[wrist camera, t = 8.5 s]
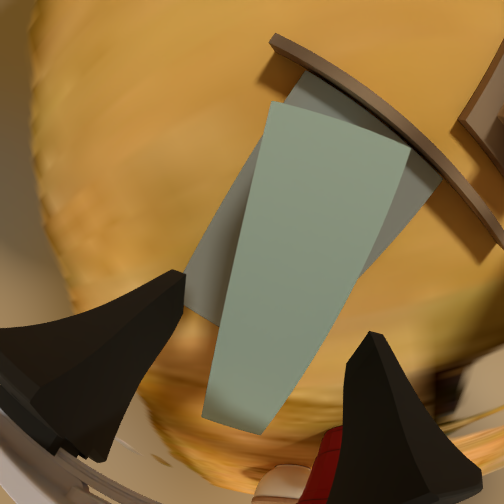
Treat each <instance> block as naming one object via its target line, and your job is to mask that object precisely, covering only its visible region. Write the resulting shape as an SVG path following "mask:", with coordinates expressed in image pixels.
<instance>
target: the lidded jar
mask: <svg viewBox="0 0 504 504" xmlns="http://www.w3.org/2000/svg"><path fill="white" fill-rule="evenodd" d="M310 473H311V469H310V468H308V467H305V466H300V465H291V464H283V465H277V466H275V468H274V469H272V470H270V471H269V472H267V473H266V474H265V475H264V476H263V477H262V478H261V480H260V481H259V483H258V485H257V488H256V490H255V493H254V497H253V499H252V504H296V503H298V500H299V498H300V496H301V495H302V493H303V491H304V488H305V486H306V483H307V481H308V478H309V475H310Z"/></svg>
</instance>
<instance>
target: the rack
mask: <svg viewBox="0 0 504 504" xmlns="http://www.w3.org/2000/svg"><path fill="white" fill-rule="evenodd" d="M269 44H270V45H271V47H272V48H273V49H274V51H275V52H277V53H279V54H281V55H283V56H285V57H287V58H288V59H290V60H292V61H294V62H296V63H297V64H299V65H301V66H303V67H305V68H306V69H308V70H310V71H311V72H313V73H315V74H316V75H318V76H320V77H321V78H323V79H324V80H326V81H328V82H329V83H331V84H332V85H334V86H335V87H337V88H338V89H340V90H341V91H343V92H344V93H346V94H347V95H349V96H350V97H351V98H353V99H354V100H356V101H357V102H358V103H360V104H361V105H363V106H364V107H365V108H367V109H368V110H369V111H370V112H372V113H373V114H374V115H376V116H377V117H378V118H379V119H381V120H382V121H383V122H384V123H386V124H387V125H388V126H389V127H391V128H392V129H393V130H394V131H395V132H396V133H398V134H399V135H400V136H401V137H402V138H403V139H405V140H406V141H407V142H408V143H409V144H410V145H411V146H412V147H413V148H414V149H416V150H417V151H418V152H419V153H420V154H421V155H422V156H423V157H424V158H425V159H426V160H427V161H428V162H429V163H430V164H431V165H432V166H433V167H434V168H435V169H436V170H437V171H438V172H439V173H440V174H441V175H442V176H443V177H444V178H445V179H446V180H447V182H448V183H449V184H450V185H451V186H452V187H453V188H454V189H455V190H456V191H457V193H458V194H459V195H460V196H461V197H462V198H463V200H464V201H465V202H466V203H467V204H468V206H469V207H470V208H471V209H472V210H473V212H474V213H475V214H476V215H477V217H478V218H479V219H480V221H481V222H482V223H483V225H484V226H485V227H486V229H487V230H488V231H489V233H490V234H491V235H492V237H493V238H494V240H495V241H496V243H497V244H498V245H499V246H500V247H501V248H502V249H503V250H504V230H503V228H502V227H501V225H500V224H499V222H498V221H497V219H496V218H495V216H494V215H493V214H492V212H491V211H490V209H489V208H488V207H487V205H486V204H485V203H484V201H483V200H482V199H481V197H480V196H479V195H478V194H477V192H476V191H475V190H474V189H473V187H472V186H471V185H470V184H469V182H468V181H467V180H466V179H465V178H464V176H463V175H462V174H461V173H460V172H459V171H458V170H457V168H456V167H455V166H454V165H453V164H452V163H451V162H450V161H449V160H448V159H447V158H446V156H445V155H444V154H443V153H442V152H441V151H440V150H439V149H438V148H437V147H436V146H435V145H434V144H433V143H432V142H431V141H430V140H429V139H428V138H427V137H426V136H425V135H424V134H423V133H421V132H420V131H419V130H418V129H417V128H416V127H415V126H414V125H413V124H412V123H411V122H409V121H408V120H407V119H406V118H405V117H404V116H403V115H401V114H400V113H399V112H398V111H397V110H395V109H394V108H393V107H392V106H391V105H389V104H388V103H387V102H386V101H384V100H383V99H382V98H380V97H379V96H378V95H377V94H375V93H374V92H373V91H371V90H370V89H369V88H367V87H366V86H364V85H363V84H362V83H360V82H359V81H357V80H356V79H354V78H353V77H352V76H350V75H349V74H347V73H346V72H344V71H343V70H341V69H339V68H338V67H336V66H335V65H333V64H332V63H330V62H328V61H327V60H325V59H323V58H322V57H320V56H318V55H317V54H315V53H313V52H311V51H309V50H308V49H306V48H304V47H302V46H300V45H298V44H297V43H295V42H293V41H291V40H289V39H287V38H285V37H283V36H281V35H279V34H277V33H275V34H274V35H273V37H272V38H271V39H270V41H269ZM503 104H504V39H503V42H502V44H501V46H500V48H499V49H498V51H497V53H496V55H495V57H494V59H493V61H492V63H491V65H490V66H489V68H488V70H487V72H486V74H485V75H484V77H483V79H482V81H481V82H480V84H479V86H478V87H477V89H476V91H475V92H474V94H473V96H472V97H471V99H470V101H469V102H468V104H467V105H466V107H465V108H464V110H463V112H462V113H461V115H460V116H459V118H458V121H459V122H460V123H461V124H462V125H463V126H464V127H465V128H466V129H467V131H468V132H469V133H470V134H471V135H472V136H473V138H474V139H475V140H476V141H477V142H478V144H479V145H480V146H481V147H482V149H483V150H484V151H485V153H486V154H487V155H488V156H489V158H490V159H491V160H492V162H493V163H494V165H495V166H496V167H497V169H498V170H499V172H500V173H501V174H502V176H503V177H504V125H503V123H502V122H501V121H500V119H499V118H498V117H497V115H498V113H499V111H500V109H501V108H502V106H503Z"/></svg>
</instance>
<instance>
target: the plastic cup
mask: <svg viewBox="0 0 504 504" xmlns="http://www.w3.org/2000/svg"><path fill="white" fill-rule="evenodd" d="M342 428H343V426H339V427H335V428H332V429H330V430H328V431H327V432H326V433H325V435H324V438H323V439H322V442H321V445H320V449H319V452H318V455H317V457H316V459H315V462H314V465H313V467H312V470H311V473H310V475H309V478H308V481H307V483H306V486H305V488H304V491H303V493H302V495H301V496H300V498H299V500H298V503H296V504H326V502H327V499H328V496H329V493H330V490H331V487H332V483H333V480H334V476H335V472H336V468H337V464H338V459H339V454H340V448H341V442H342Z"/></svg>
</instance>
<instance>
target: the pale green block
mask: <svg viewBox="0 0 504 504" xmlns="http://www.w3.org/2000/svg"><path fill="white" fill-rule="evenodd" d="M410 150H411V148H410V147H408V146H405V145H403V144H401V143H399V142H396V141H394V140H392V139H389V138H387V137H385V136H382V135H380V134H377V133H375V132H372V131H370V130H367V129H364V128H362V127H359V126H356V125H353V124H351V123H348V122H345V121H342V120H339V119H336V118H333V117H330V116H326V115H323V114H320V113H317V112H313V111H310V110H306V109H303V108H299V107H295V106H291V105H288V104H284V103H280V102H275V101H271V105H270V109H269V114H268V118H267V122H266V126H265V130H264V134H263V138H262V142H261V146H260V150H259V155H258V159H257V163H256V167H255V171H254V176H253V180H252V184H251V188H250V193H249V197H248V201H247V206H246V210H245V214H244V219H243V223H242V227H241V232H240V236H239V241H238V245H237V250H236V254H235V259H234V263H233V268H232V272H231V277H230V281H229V286H228V290H227V295H226V300H225V304H224V309H223V314H222V318H221V323H220V328H219V332H218V337H217V342H216V347H215V352H214V356H213V361H212V366H211V371H210V376H209V381H208V386H207V391H206V396H205V401H204V406H203V411H202V416H201V417H202V418H205V419H208V420H211V421H214V422H217V423H220V424H223V425H226V426H229V427H233V428H236V429H239V430H243V431H246V432H250V433H254V434H257V435H261V434H262V433H263V431H264V430H265V429H266V427H267V426H268V425H269V423H270V422H271V421H272V419H273V418H274V416H275V415H276V414H277V412H278V411H279V409H280V408H281V407H282V405H283V404H284V402H285V401H286V399H287V398H288V396H289V395H290V394H291V392H292V391H293V389H294V388H295V386H296V385H297V383H298V382H299V380H300V379H301V377H302V375H303V374H304V372H305V371H306V369H307V368H308V366H309V364H310V363H311V361H312V360H313V358H314V356H315V355H316V353H317V351H318V350H319V348H320V346H321V345H322V343H323V341H324V340H325V338H326V336H327V335H328V333H329V331H330V329H331V328H332V326H333V324H334V322H335V320H336V319H337V317H338V315H339V313H340V311H341V310H342V308H343V306H344V304H345V302H346V300H347V298H348V296H349V294H350V293H351V291H352V289H353V287H354V285H355V283H356V281H357V279H358V277H359V275H360V273H361V271H362V269H363V267H364V264H365V262H366V260H367V258H368V256H369V254H370V252H371V250H372V247H373V245H374V243H375V241H376V238H377V236H378V234H379V232H380V229H381V227H382V225H383V222H384V220H385V218H386V215H387V213H388V210H389V208H390V205H391V203H392V200H393V198H394V195H395V193H396V190H397V187H398V185H399V182H400V179H401V176H402V174H403V171H404V168H405V165H406V162H407V159H408V156H409V153H410Z"/></svg>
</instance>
